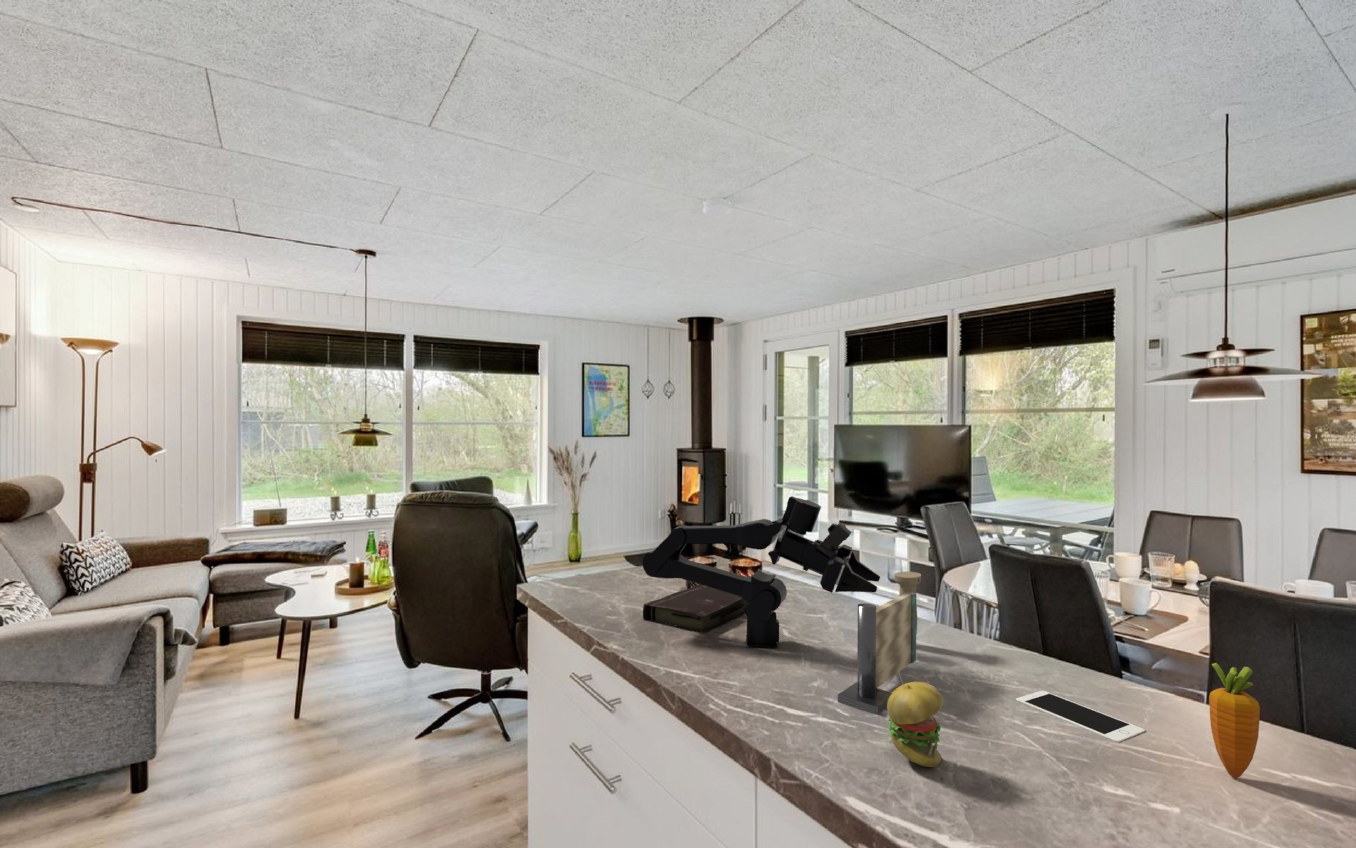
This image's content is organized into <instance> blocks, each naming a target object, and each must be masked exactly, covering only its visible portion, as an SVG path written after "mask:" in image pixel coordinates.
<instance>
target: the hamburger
mask: <svg viewBox="0 0 1356 848" xmlns="http://www.w3.org/2000/svg"><path fill="white" fill-rule="evenodd" d="M898 676H899V678H900V680H901V683H902V684H901V685H900V686H898V687H896V688H894V690H893V691H892V694H891V695H890V697H889V699H888V702H887V708H886V709H887V715H888V719H887V722H889V723H890V724H889V728H888V732H889V733H890V737H891V741H892V744H893V745H894V747H895V748H896V749H897V751H898V752H899V753H900V754H901V755H903V756H904V757H905V758H906V759H907V760H909V761H910V762H913V763H914V764H917V766H922V767H925V768H934V767H936V766H938V765H939V763H940V762H941V759H942V754H941V753H940V751H938V743H940V734H939V732H940V731H941V729H942V724H941V723H940V722H938V720H936V718H935V717H934V715H936V716H939V713H938V712H939V711H940V710H941V709H942V706H943V703H944V699H943V695H942V694H941V693H940V691H938V689H936V687H935V686H933V685H932V684H929V683H928V682H923V681H912V682H906V683H903V679H902V676H901V674H900V672H898Z"/></svg>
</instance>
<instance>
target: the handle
mask: <svg viewBox="0 0 1356 848" xmlns="http://www.w3.org/2000/svg"><path fill="white" fill-rule="evenodd" d="M893 575H894V577H893V580H894V581H895V582H896V584H898V585H899V591H898V592H899V594H898V597H899V596H901V595H903V593H905V592H913V593H916V594H917V585H919V584H920V583H921V581H922V574H921V573H920V572H916V571H915V572H914V571H899V572H895V573H894V574H893ZM917 606H918V605H917V602H916V636H917V635H918V634H917V633H918V608H917Z"/></svg>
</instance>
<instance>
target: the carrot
mask: <svg viewBox="0 0 1356 848" xmlns="http://www.w3.org/2000/svg"><path fill="white" fill-rule="evenodd" d="M1211 667H1212V668H1213V669H1214V671H1216V674H1217V675H1218V677H1219V678H1220V681H1221V682H1222V684H1223V686H1224V687H1220V688H1219V687H1218V688H1216V689H1214V690H1212V691H1210V693H1209V698H1208V700H1209V701H1208V702H1209V705H1208V706H1209V716H1210V720H1209V721H1210V722H1209V723H1210V729H1211V732H1212V733H1211V734H1212V738H1213V742H1214V746H1215V750H1216V752H1217V755H1218V757H1219V760H1220V761H1221V763H1222V765H1223V767H1224V769H1225V771H1226V772H1227V773H1228V775H1229V776H1230V777H1231V778H1232V779H1234V780H1236V779H1238V778H1241V776H1242V775H1243V774H1244V773H1245V772H1246V770H1247V769H1249V766H1250V764H1251V763H1252V761H1253V758H1254V755H1255V752H1256V748H1257V744H1258V739H1259V731H1260V718H1261V717H1260V716H1261V715H1260V714H1261V713H1260V711H1261V707H1260V703H1259V701H1258V700H1256V698H1254V697H1253V696H1251V695H1250V694H1249V693H1247V692H1245V690H1247V689H1249V688H1251V687H1252V686H1254V684H1253V682H1250V681H1248V680H1249V678H1250V677H1251V675H1252V674H1253V673H1254V672H1253V670H1252V669H1251V668H1250V667H1249V666H1243V667H1242V669H1241V670H1240V672H1237V670H1238V668H1236V667H1235V666H1234V667H1233V666H1232V667H1231V668H1230V669H1229V672H1228V674H1227V675H1226V674H1225V672H1224V671H1223V669H1222V668H1221V666H1220V665H1219V663H1217V662H1215V663H1211ZM1237 674H1238V675H1237Z"/></svg>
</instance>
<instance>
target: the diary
mask: <svg viewBox="0 0 1356 848" xmlns="http://www.w3.org/2000/svg"><path fill="white" fill-rule="evenodd" d="M747 604H748V602H747V601H745V600H744V599H743V598H741V597H740V596H738V595H734V594H731V593H728V592H724V591H721V590H718V589H714V588H711V587H708V586H704V585H701V584H696V585H694V586H692V587H690V588H686V589H683V590H680V591H676V592H673V593H671V594H669V595H666V596H664V597H662V598H659V599H655V600H651V601H647V602H645V603H643V606H642V619H643V621H646V620H649V619H651V620H650V622H653V621H655V622H657V623H662V624H666V625H670V626H674V628H676V629H679V630H683V631H684V630H685V631H689V632H693V633H697V634H707V633H709V632H711V631H714V630H716V629H718V628H721V627H723V626H724V625H727V624H728V623H730V622H732V621H735V620H737V619H739V618H740V617H742V616H744V615H745V612H744V609H743V608H744V607H745V606H746V605H747Z"/></svg>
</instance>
